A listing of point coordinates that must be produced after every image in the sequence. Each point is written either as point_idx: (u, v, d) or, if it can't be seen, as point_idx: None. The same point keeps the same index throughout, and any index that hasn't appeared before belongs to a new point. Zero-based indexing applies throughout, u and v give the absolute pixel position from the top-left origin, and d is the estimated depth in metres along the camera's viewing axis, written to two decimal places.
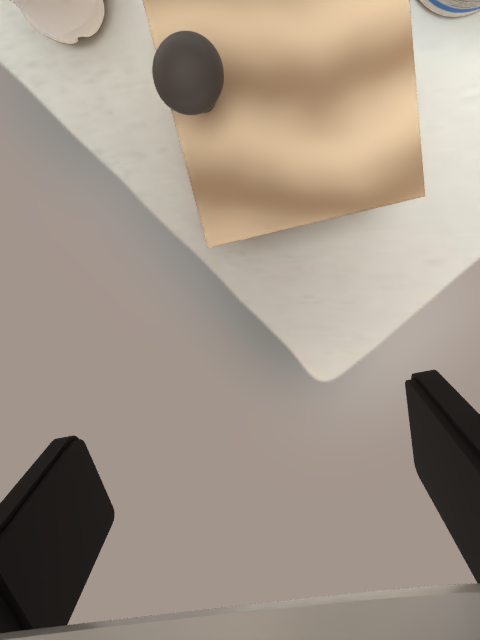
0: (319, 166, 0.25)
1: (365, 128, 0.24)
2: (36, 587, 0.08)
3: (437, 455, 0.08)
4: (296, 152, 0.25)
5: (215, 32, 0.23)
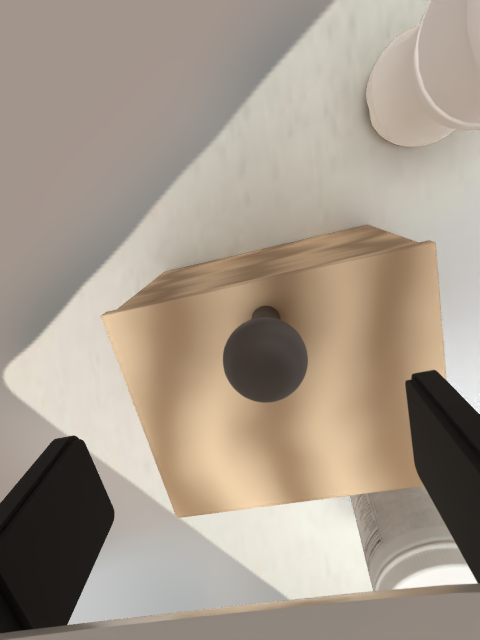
0: (198, 432, 0.24)
1: (234, 469, 0.24)
2: (36, 587, 0.08)
3: (437, 455, 0.08)
4: (212, 411, 0.23)
5: (329, 335, 0.21)
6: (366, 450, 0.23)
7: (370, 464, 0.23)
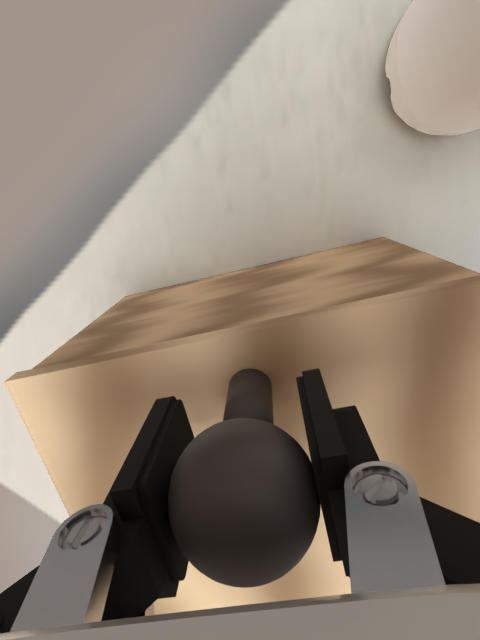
0: None
1: (209, 586, 0.17)
2: None
3: None
4: None
5: None
6: None
7: None
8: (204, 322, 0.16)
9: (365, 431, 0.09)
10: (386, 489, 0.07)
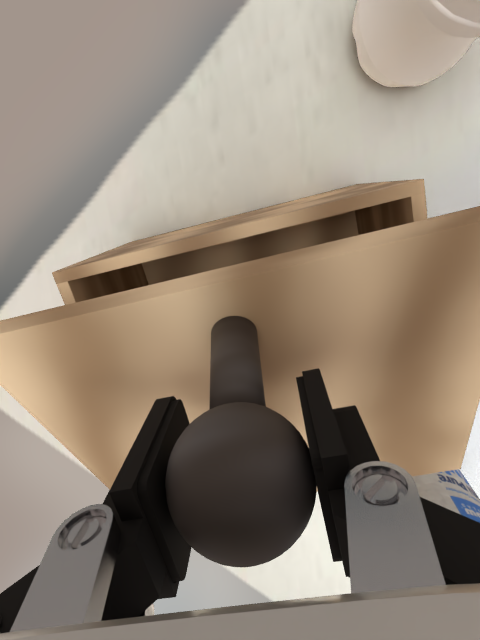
0: None
1: None
2: (169, 521, 0.09)
3: None
4: None
5: (331, 346, 0.14)
6: None
7: None
8: (198, 233, 0.20)
9: (365, 431, 0.09)
10: (386, 489, 0.07)
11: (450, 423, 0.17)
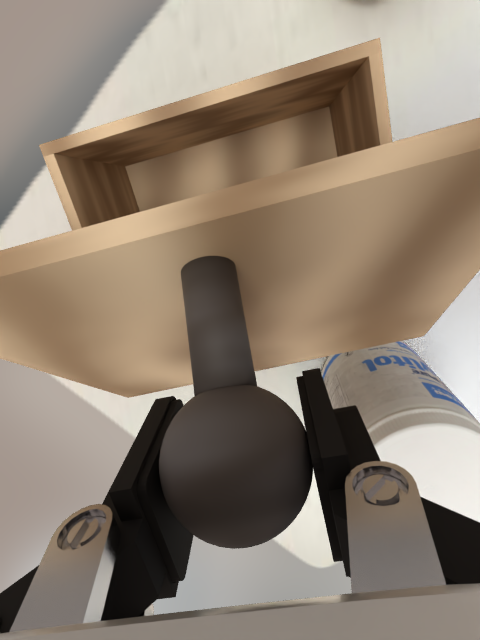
0: (130, 363, 0.18)
1: (184, 371, 0.20)
2: (169, 521, 0.09)
3: None
4: (142, 350, 0.16)
5: (320, 270, 0.12)
6: (340, 337, 0.19)
7: (341, 343, 0.20)
8: None
9: (366, 431, 0.09)
10: (387, 489, 0.07)
11: (426, 310, 0.17)
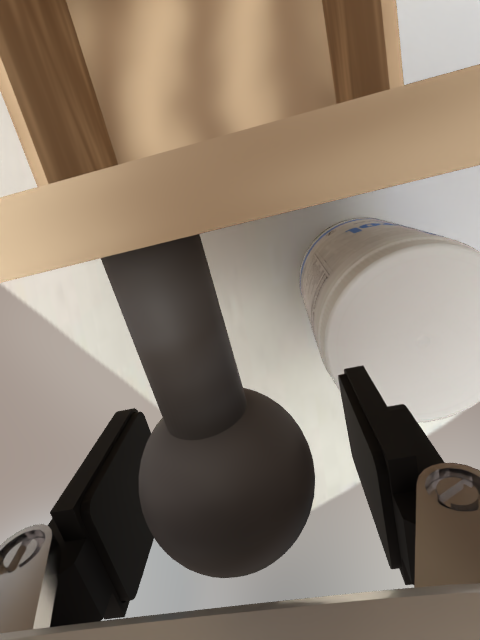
0: None
1: None
2: (118, 540, 0.09)
3: (356, 440, 0.09)
4: None
5: None
6: None
7: None
8: None
9: (421, 431, 0.08)
10: (465, 493, 0.06)
11: None
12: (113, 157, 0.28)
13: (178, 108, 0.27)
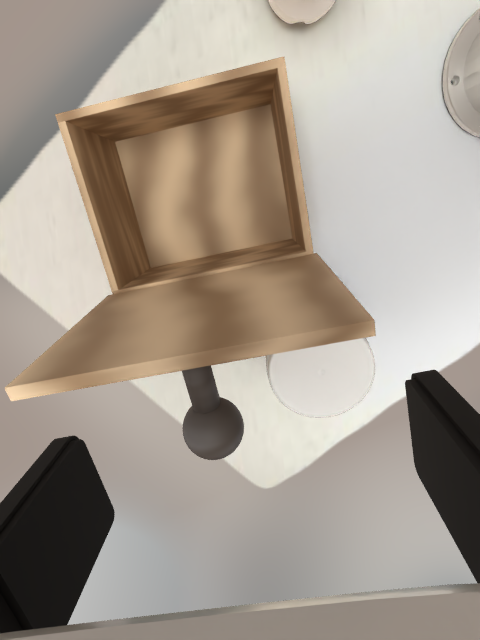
0: None
1: None
2: (36, 587, 0.08)
3: (437, 455, 0.08)
4: None
5: None
6: None
7: None
8: None
9: None
10: None
11: None
12: (141, 240, 0.42)
13: (186, 211, 0.42)
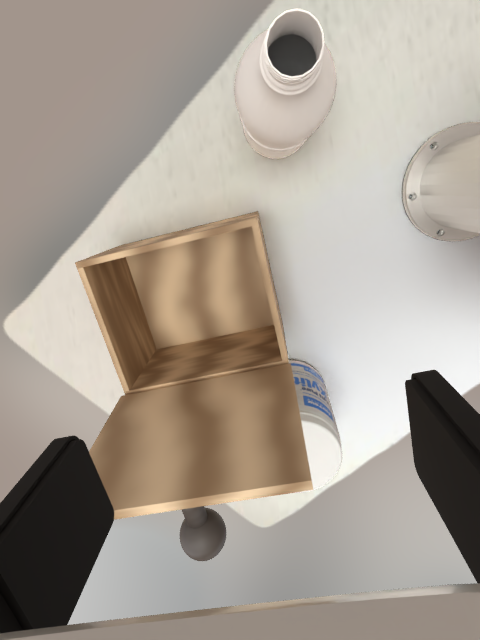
0: None
1: None
2: (36, 587, 0.08)
3: (437, 455, 0.08)
4: None
5: None
6: None
7: None
8: (152, 242, 0.37)
9: None
10: None
11: None
12: (148, 329, 0.50)
13: (185, 304, 0.49)
